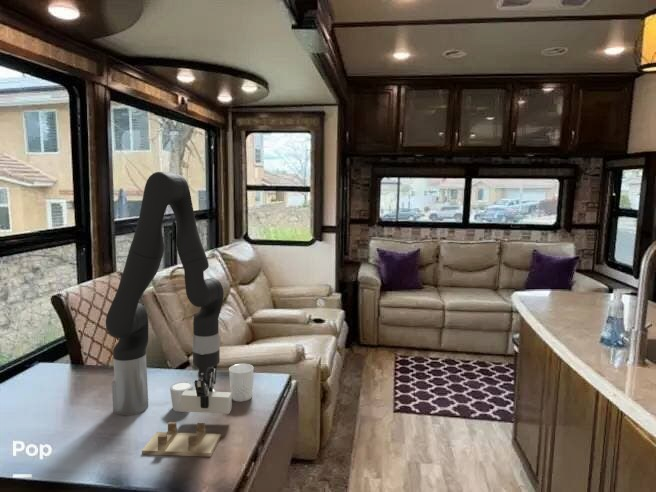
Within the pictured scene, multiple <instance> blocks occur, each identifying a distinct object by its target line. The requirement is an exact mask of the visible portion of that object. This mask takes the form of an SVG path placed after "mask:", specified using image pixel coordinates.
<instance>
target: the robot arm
mask: <svg viewBox="0 0 656 492" xmlns="http://www.w3.org/2000/svg"><path fill="white" fill-rule="evenodd" d="M140 205H141V207H140V212H139V216H138V220H137V224H136V227H135V231H134V233H133V238H132V241H131V244H130V246H129V251H128V253H127V257H126V260H125V264H124V268H123V271H122V274H121V277H120V281H119V284H118V287H117V290H116V292H115V295H114V298H113V300H112V302H111V304H110V307H109V309H108V312H107V314H106V317H105V328H106V331H107V333H108V334H109V336H110V337H113V338H115V339H119V340H118V341H117V343H116V345H115V346H114V347H113V349H112V358H113V359H112V360H113V377H114V379H113V381H112V383H111V394H112V395H111V396H112V412H113V413H115V414H117V415H121V416H133V415H137V414H140V413H142V412H145V411H146V410H147V409H148V408H149V393H148V391H149V390H148V389H149V388H148V369H147V366H148V365H147V347H148V344H149V315H148V312H147V309H146V307H145V306H144V305H143V304H141V303H140V300H141V298H142V296H143V295H144V293H145V291H146V290H147V288H148V287H149V286H150V284H151V283H152V281H153V280H154V278H155V276H156V275H157V273H158V271H159V269H160V266H161V264H162V260H163V256H164V253H165V241H164V240H165V239H164V235H163V229H162V226H163V221H164V220H163V219H164V216H165V213H166V210H167V209H168V206H170V208H171V211H172V213H173V215H174V218H175V224H176V236H175V237H176V238H175V245H176V252H177V254H178V257H179V260H180V262H181V263H180V264H181V266H182V269H183V271H184V272H183V273H184V284H185V293H186V298H187V299H188V301H189V302H190V303H191V304H192V305H193V306H194V307H196V308H200V310H199V311H198V312H197V313H196V314H194V316H193V321H192V322H193V325H192V327H193V332H192V333H193V335H192V364H193V366H195V368H197V369H198V371H197V379H198V380H194V387H195V390H196V393H197V397H200V403H201V408H208V406H209V391H210V392H213V389H214V387H215V386H214V385H216V382H217V381H216V380H217V370H218V365H219V364H220V360H221V359H220V357H221V355H220V352H221V351H220V347H221V346H220V345H221V343H220V335H219V334H220V332H219V328H220V327H219V323H220V321H219V318H220V314H221V310H222V306H223V302H224V294H225V293H224V287H223V285H222V283H221V282H220V281H219V280H218V279H217V278H211V277H210V278H207V279H205V274H204V272H206V270H208V268H209V267H210V264H209V260H208V257H207V255H206V252H205V249H204V246H203V243H202V240H201V238H200V237H201V236H200V234H199V231H198V225H197V223H196V222H197V221H196V217H195V212H194V207H193V201H192V196H191V190H190V186H189V183H188V180H187V179H185V177H184V176H182V175H181V174H178V173H173V172H168V171H167V172H166V171H157V172H153V173H152V174H151V175H150V176H149V177H148V178H147V180H146V183H145V186H144V189H143V195H142V200H141V204H140Z"/></svg>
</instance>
